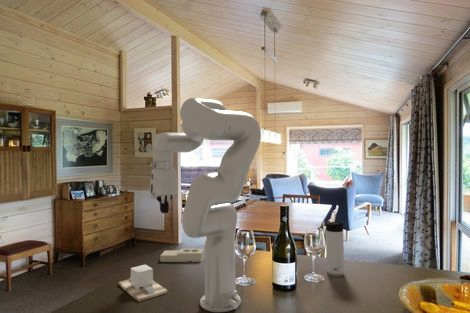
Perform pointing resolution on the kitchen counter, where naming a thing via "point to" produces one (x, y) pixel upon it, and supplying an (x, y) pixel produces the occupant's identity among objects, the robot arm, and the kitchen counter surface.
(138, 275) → the white cube
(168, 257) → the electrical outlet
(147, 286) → the steel rail
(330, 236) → the travel mug
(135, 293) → the mounting board
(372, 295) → the kitchen counter surface
